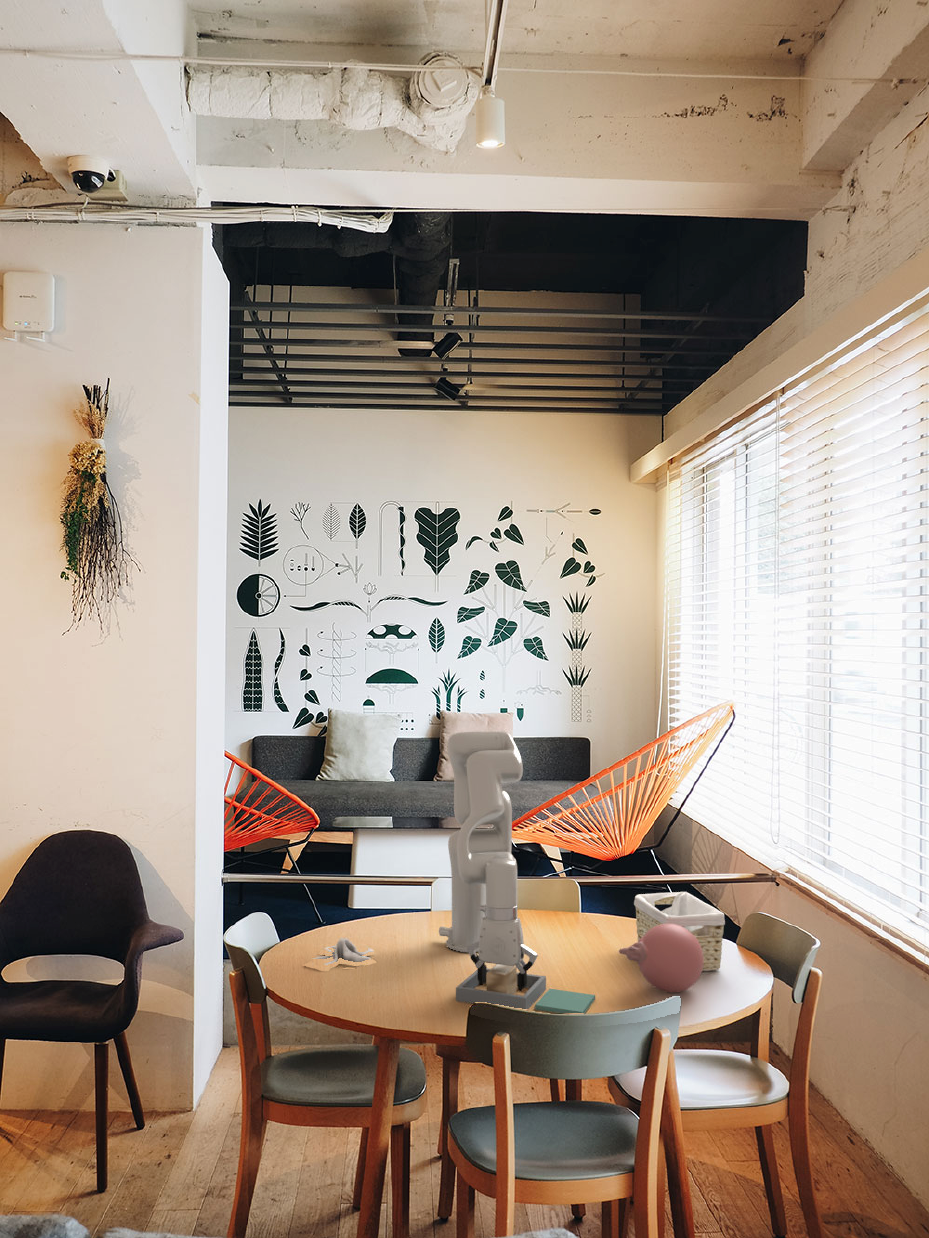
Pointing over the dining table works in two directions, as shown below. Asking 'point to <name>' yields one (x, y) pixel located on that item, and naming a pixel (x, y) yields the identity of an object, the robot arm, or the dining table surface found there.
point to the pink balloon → (668, 957)
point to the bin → (472, 995)
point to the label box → (502, 979)
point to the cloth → (345, 952)
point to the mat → (565, 1001)
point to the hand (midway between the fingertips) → (502, 986)
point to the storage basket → (684, 921)
